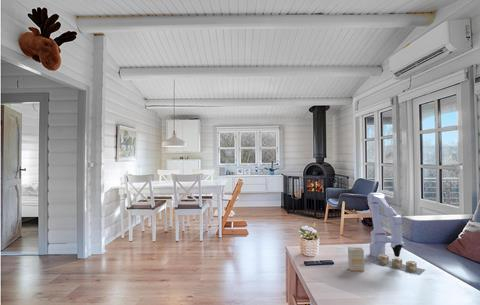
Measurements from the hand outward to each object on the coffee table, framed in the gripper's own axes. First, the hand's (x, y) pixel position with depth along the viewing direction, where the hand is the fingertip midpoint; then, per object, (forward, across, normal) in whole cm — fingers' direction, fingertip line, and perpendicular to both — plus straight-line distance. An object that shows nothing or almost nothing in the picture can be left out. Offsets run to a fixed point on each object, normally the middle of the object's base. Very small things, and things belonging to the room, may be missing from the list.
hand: (396, 256), depth 180 cm
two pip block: (+6, 0, +8) cm, 10 cm away
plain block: (+6, 0, 0) cm, 6 cm away
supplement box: (+7, -23, +16) cm, 29 cm away
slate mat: (+7, 0, 0) cm, 7 cm away
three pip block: (+6, 0, -8) cm, 10 cm away
